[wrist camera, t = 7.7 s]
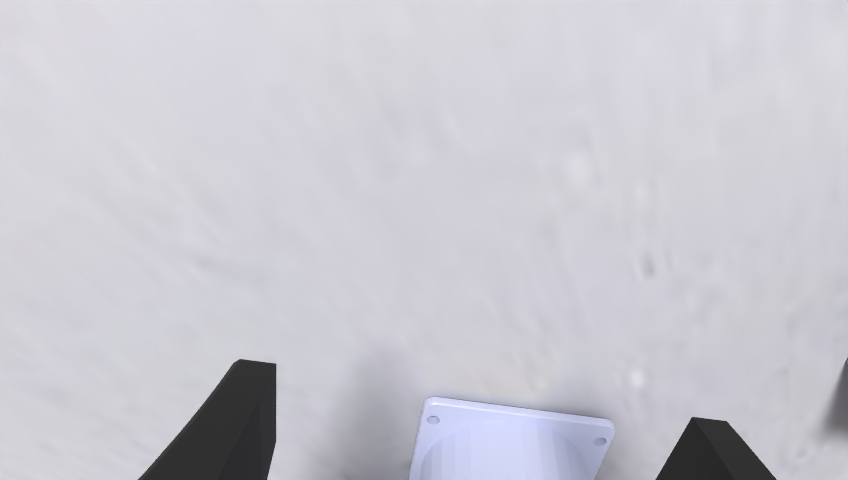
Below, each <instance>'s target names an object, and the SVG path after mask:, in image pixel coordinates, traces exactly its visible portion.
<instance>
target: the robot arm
mask: <svg viewBox="0 0 848 480" xmlns="http://www.w3.org/2000/svg"><path fill="white" fill-rule="evenodd" d="M431 416H436V417H431ZM615 433H616V430H615V426H614V424H613V422H612V421H610V420H607V419H602V418H595V417H587V416H579V415H572V414H564V413H556V412H549V411H541V410H533V409H526V408H518V407H510V406H503V405H495V404H487V403H480V402H472V401H464V400H457V399H449V398H441V397H431V398H428V399H426V400H425V401H424V403H423V408H422V412H421V417H420V422H419V427H418V432H417V437H416V442H415V447H414V452H413V457H412V462H411V467H410V472H409V477H408V480H594V478H595V476H596V474H597V472H598V470H599V468H600V466H601V464H602V461H603V459H604V457H605V455H606V453H607V451H608V449H609V447H610V444H611V442H612V440H613V438H614V436H615ZM275 443H276V364H274V363H266V362H259V361H251V360H243V359H239V360H238V361H236V362H235V363H233V365H232V366H231V367H230V369H229V370H228V372H227V373H226V375H225V376H224V377H223V379H222V380H221V381H220V383H219V384H218V385H217V387H216V388H215V389H214V391H213V392H212V393H211V395H210V396H209V397H208V398H207V400H206V401H205V402H204V404H203V405H202V406H201V407H200V409H199V410H198V411H197V412H196V414H195V415H194V416H193V417H192V418H191V420H190V421H189V422H188V423H187V425H186V426H185V427H184V428H183V429H182V430H181V432H180V433H179V434H178V435H177V436H176V437H175V439H174V440H173V441H172V442H171V443H170V444H169V445H168V447H167V448H166V449H165V450H164V451H163V452H162V454H161V455H160V456H159V457H158V458H157V459H156V460H155V462H154V463H153V464H152V465H151V466H150V467H149V468H148V469H147V471H146V472H145V473H144V474H143V475H142V476H141V477H140V478H139V479H138V480H267V477H268V473H269V469H270V465H271V460H272V456H273V452H274V448H275ZM656 480H776V478H775V477H774V476H773V475H772V474H771V473H770V471H769V470H768V469H767V468H766V467H765V465H764V464H763V463H762V462H761V461H760V459H759V458H758V457H757V456H756V455H755V454H754V452H753V451H752V450H751V449H750V448H749V446H748V445H747V444H746V443H745V442H744V441H743V439H742V438H741V437H740V436H739V435H738V434H737V433H736V431H735V430H734V429H733V428H732V427H731V426H730V425H729V423H728V422H727V421H720V420H712V419H705V418H697V417H692V418H691V420H690V422H689V423H688V425H687V427H686V429H685V430H684V432H683V434H682V435H681V437H680V439H679V441H678V442H677V444H676V446H675V447H674V449H673V451H672V453H671V454H670V456H669V458H668V459H667V461H666V463H665V465H664V466H663V468H662V470H661V471H660V473H659V475H658V477H657V478H656Z"/></svg>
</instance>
